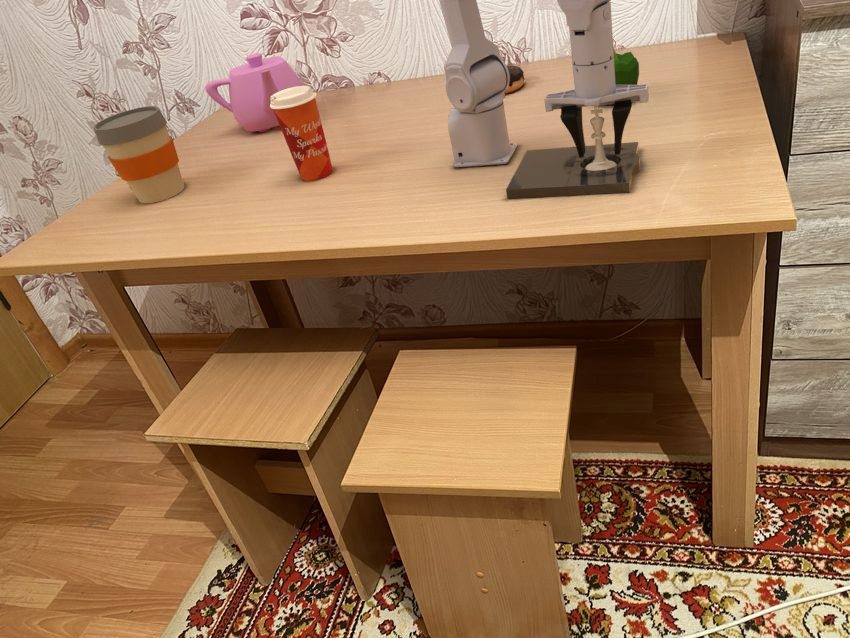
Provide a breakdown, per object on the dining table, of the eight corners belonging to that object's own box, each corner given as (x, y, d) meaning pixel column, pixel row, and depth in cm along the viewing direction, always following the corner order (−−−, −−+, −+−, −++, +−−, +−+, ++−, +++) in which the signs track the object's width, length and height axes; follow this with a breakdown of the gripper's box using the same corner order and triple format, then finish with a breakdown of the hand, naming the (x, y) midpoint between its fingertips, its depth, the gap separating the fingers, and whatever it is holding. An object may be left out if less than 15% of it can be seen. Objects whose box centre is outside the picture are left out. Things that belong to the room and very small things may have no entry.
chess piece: (617, 176, 103) (613, 109, 98) (583, 179, 105) (577, 113, 99) (617, 163, 107) (614, 98, 101) (585, 166, 109) (580, 102, 103)
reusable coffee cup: (155, 210, 129) (117, 131, 120) (116, 204, 136) (78, 129, 127) (206, 181, 137) (174, 105, 128) (167, 177, 144) (134, 105, 135)
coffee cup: (302, 187, 124) (273, 104, 116) (290, 175, 131) (262, 95, 122) (345, 172, 127) (320, 88, 118) (331, 161, 133) (307, 81, 124)
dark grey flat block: (507, 198, 104) (505, 189, 103) (527, 158, 115) (526, 150, 115) (634, 192, 98) (634, 182, 97) (643, 150, 109) (643, 141, 108)
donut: (526, 91, 145) (524, 72, 143) (471, 102, 146) (467, 83, 144) (524, 77, 154) (521, 58, 152) (471, 87, 155) (468, 69, 153)
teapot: (220, 129, 166) (194, 64, 158) (304, 103, 171) (284, 39, 162) (231, 154, 148) (203, 82, 140) (325, 125, 153) (303, 53, 144)
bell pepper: (647, 93, 131) (645, 37, 125) (630, 108, 125) (627, 51, 120) (605, 93, 135) (601, 39, 129) (587, 108, 130) (582, 52, 124)
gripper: (536, 74, 96) (547, 167, 104) (644, 62, 91) (647, 160, 99) (545, 59, 101) (555, 149, 109) (648, 47, 96) (651, 141, 104)
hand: (599, 153), depth 104 cm, fingers open, 5 cm apart
